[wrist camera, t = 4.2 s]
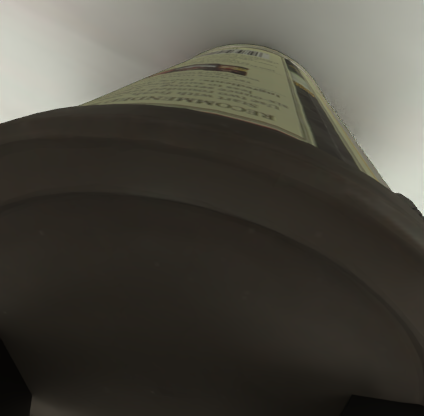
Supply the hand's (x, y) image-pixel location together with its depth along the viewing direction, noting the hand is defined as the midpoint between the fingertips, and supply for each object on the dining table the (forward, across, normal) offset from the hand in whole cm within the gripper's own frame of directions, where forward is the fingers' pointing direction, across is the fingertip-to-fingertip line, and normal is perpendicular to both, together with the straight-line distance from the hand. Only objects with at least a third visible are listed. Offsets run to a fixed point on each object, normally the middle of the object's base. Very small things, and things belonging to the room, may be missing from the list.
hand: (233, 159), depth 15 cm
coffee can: (+3, 0, 0) cm, 3 cm away
